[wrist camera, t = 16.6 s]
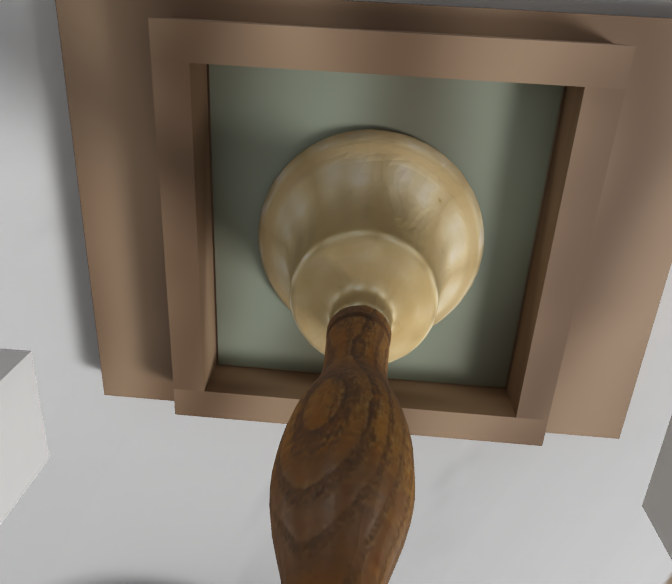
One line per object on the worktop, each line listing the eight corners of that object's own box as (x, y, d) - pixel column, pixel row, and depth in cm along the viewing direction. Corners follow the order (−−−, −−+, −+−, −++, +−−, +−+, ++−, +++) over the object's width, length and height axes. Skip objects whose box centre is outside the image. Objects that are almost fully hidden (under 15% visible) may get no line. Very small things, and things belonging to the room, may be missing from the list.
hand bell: (225, 282, 24) (-17, 694, 10) (319, 84, 21) (165, 259, 6) (411, 372, 25) (444, 864, 11) (528, 197, 22) (807, 569, 7)
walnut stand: (118, 376, 28) (83, 422, 25) (74, -15, 22) (20, -19, 18) (607, 417, 27) (636, 471, 24) (719, 21, 21) (780, 23, 17)
